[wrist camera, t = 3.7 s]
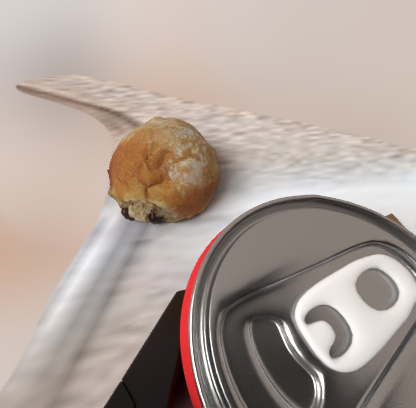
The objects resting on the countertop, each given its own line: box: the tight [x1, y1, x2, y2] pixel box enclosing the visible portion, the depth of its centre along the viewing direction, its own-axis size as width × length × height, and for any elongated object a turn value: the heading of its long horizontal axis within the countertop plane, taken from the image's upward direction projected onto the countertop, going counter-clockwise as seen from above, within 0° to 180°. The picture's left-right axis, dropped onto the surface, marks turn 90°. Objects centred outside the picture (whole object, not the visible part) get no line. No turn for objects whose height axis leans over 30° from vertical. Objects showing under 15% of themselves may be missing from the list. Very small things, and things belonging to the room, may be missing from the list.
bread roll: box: [107, 117, 220, 224], centre depth 20 cm, size 10×10×8 cm
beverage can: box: [180, 195, 416, 408], centre depth 9 cm, size 5×5×12 cm
